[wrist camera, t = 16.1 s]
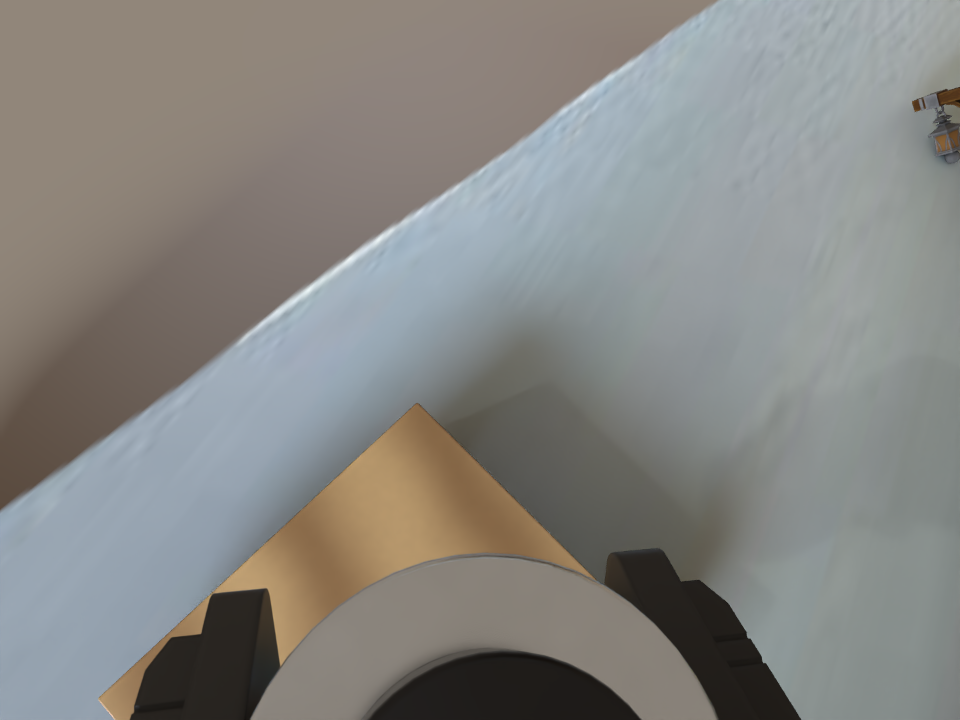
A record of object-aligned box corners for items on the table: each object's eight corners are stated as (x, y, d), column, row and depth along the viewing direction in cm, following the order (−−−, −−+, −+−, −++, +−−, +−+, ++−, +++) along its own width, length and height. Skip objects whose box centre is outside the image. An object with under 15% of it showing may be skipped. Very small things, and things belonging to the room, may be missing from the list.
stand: (412, 438, 28) (417, 401, 24) (647, 673, 27) (702, 683, 22) (152, 684, 25) (96, 699, 20) (403, 979, 23) (407, 1071, 18)
